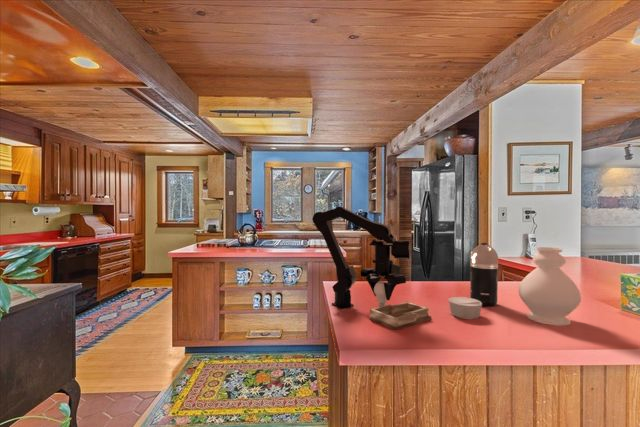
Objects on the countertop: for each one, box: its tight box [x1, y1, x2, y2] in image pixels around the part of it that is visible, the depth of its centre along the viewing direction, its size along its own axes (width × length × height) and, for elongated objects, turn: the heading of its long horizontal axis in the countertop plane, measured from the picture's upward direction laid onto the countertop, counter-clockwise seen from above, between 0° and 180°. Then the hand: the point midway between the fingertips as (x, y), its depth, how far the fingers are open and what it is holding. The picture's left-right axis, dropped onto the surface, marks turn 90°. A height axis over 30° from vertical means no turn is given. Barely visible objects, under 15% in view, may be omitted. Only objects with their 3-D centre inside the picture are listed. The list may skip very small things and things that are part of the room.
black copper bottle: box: [469, 242, 499, 307], centre depth 132 cm, size 10×10×25 cm
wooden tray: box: [369, 301, 432, 331], centre depth 113 cm, size 12×18×4 cm, turn 124°
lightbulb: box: [373, 280, 388, 307], centre depth 123 cm, size 6×6×11 cm
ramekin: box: [448, 296, 483, 320], centre depth 117 cm, size 11×11×5 cm
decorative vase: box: [518, 246, 582, 327], centre depth 113 cm, size 18×18×25 cm
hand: (382, 298), depth 123 cm, fingers closed on lightbulb, 6 cm apart
